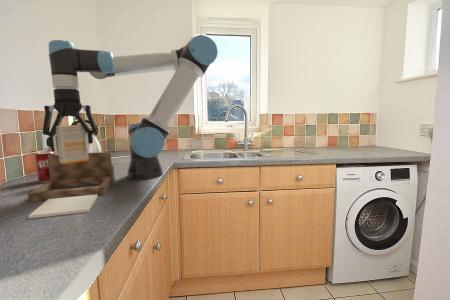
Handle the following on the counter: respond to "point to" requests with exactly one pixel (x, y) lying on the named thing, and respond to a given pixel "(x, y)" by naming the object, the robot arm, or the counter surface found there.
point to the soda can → (43, 166)
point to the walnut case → (76, 177)
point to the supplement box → (71, 144)
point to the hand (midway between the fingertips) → (73, 153)
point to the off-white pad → (64, 206)
